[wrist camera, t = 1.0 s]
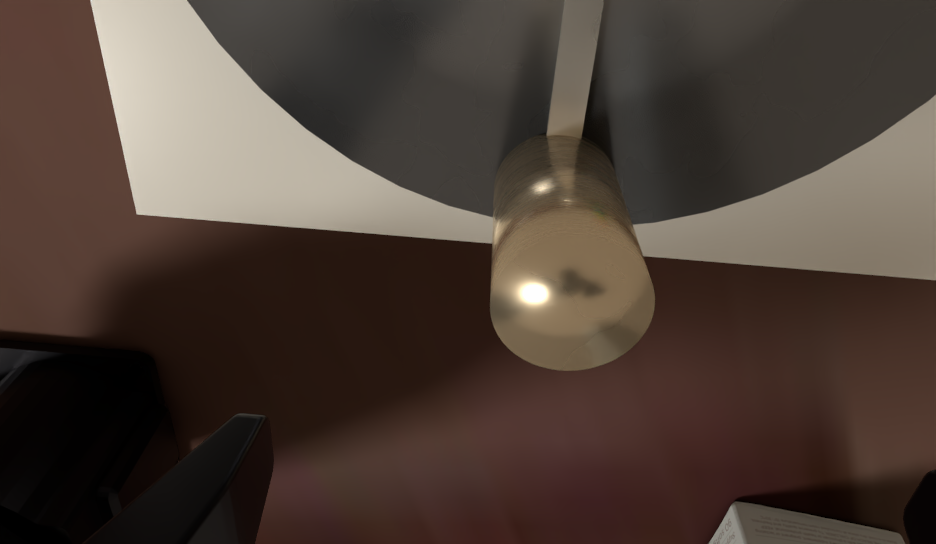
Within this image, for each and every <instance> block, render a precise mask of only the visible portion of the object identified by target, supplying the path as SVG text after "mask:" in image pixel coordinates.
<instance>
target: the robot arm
mask: <svg viewBox="0 0 936 544" xmlns="http://www.w3.org/2000/svg"><path fill="white" fill-rule="evenodd" d="M135 364H136V365H139V366H140V367H142V368H140V367H138V366H136V365H135ZM178 457H179V451H178V447H177V443H176V438H175V434H174V429H173V425H172V421H171V416H170V412H169V410H168V408H167V407H166V405H165V403H164V399H163V395H162V390H161V386H160V382H159V377H158V373H157V369H156V365H155V362H154V360H153V359H152V358H151V357H150V356H149V355H147V354H145V353H143V352H138V351H126V350H114V349H102V348H90V347H78V346H65V345H53V344H41V343H29V342H17V341H5V340H0V544H255V541H256V537H257V533H258V529H259V525H260V521H261V517H262V513H263V509H264V505H265V501H266V497H267V493H268V489H269V485H270V481H271V477H272V472H273V465H274V455H273V447H272V438H271V430H270V423H269V420H268V418H267V417H266V416H264V415H258V414H245V413H239V414H236V415H234V416H233V417H232V418H230V419H229V420H228V421H227V422H226V423H224V424H223V425H222V426H221V427H220V428H219V429H217V430H216V431H215V432H214V433H213V434H211V435H210V436H209V437H208V438H207V439H205V440H204V441H203V442H202V443H201V444H200V445H198V446H197V447H196V448H195V449H194V450H192V451H191V452H190V453H189V454H188V455H187V456H185V457H184V458H183V459H182V460H181V461H179V462H178V460H177V459H178ZM903 520H904V527H905V530H906V533H907V536H908V539H909V542H910V544H936V470H932V471H930V472H928V473H927V474H926V475H925V476H924V478H923V479H922V481H921V482H920V484H919V486H918V487H917V489H916V491H915V492H914V494H913V495H912V497H911V499H910V500H909V502H908V503H907V505H906V507H905V509H904V515H903Z"/></svg>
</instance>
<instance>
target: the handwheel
mask: <svg viewBox="0 0 936 544" xmlns="http://www.w3.org/2000/svg"><path fill="white" fill-rule="evenodd" d="M187 1H188V3H189V4H190V5H191V7H192V8H193V9H194V11H195V12H196V13H197V15H198V16H199V17H200V19H201V20H202V22H203V23H204V24H205V26H206V27H207V28H208V30H209V31H210V32H211V34H212V35H213V36H214V38H215V39H216V41H217V42H218V43H219V44H220V45H221V46H222V48H223V49H224V50H225V51H226V52H227V53H228V54H229V55H230V56H231V57H232V58H233V60H234V61H235V62H236V63H237V64H238V65H239V66H240V67H241V68H242V69H243V71H244V72H245V73H246V74H247V75H248V76H249V77H250V78H251V79H252V80H253V81H254V83H255V84H256V85H257V86H258V87H259V88H260V89H261V90H262V91H263V92H264V93H265V94H267V95H268V96H269V97H270V98H271V99H272V100H273V101H275V102H276V103H277V104H278V105H279V106H280V107H281V108H283V109H284V110H285V111H286V112H287V113H288V114H289V115H290V116H292V117H293V118H294V119H295V120H296V121H297V122H298V123H300V124H301V125H302V126H303V127H304V128H305V129H307V130H308V131H310V132H311V133H312V134H314V135H315V136H317V137H318V138H320V139H321V140H323V141H324V142H325V143H327V144H328V145H330V146H331V147H333V148H334V149H335V150H337V151H338V152H340V153H341V154H343V155H344V156H346V157H347V158H348V159H350V160H351V161H353V162H355V163H357V164H359V165H360V166H362V167H364V168H366V169H368V170H370V171H372V172H373V173H375V174H377V175H379V176H381V177H383V178H385V179H386V180H388V181H390V182H392V183H394V184H396V185H398V186H400V187H402V188H405V189H407V190H410V191H412V192H415V193H417V194H420V195H422V196H425V197H427V198H430V199H432V200H435V201H438V202H440V203H443V204H445V205H448V206H451V207H455V208H459V209H462V210H466V211H470V212H474V213H478V214H481V215H485V216H489V217H493V232H492V262H491V292H490V314H491V320H492V323H493V326H494V328H495V331H496V333H497V335H498V336H499V338H500V339H501V341H502V342H503V343H504V344H505V345H506V346H507V347H508V349H510V350H511V351H512V352H513V353H514V354H516V355H517V356H519V357H520V358H522V359H523V360H526V361H528V362H530V363H532V364H534V365H537V366H540V367H544V368H548V369H553V370H562V371H574V370H584V369H590V368H594V367H597V366H601V365H603V364H606V363H609V362H611V361H613V360H615V359H617V358H619V357H620V356H622V355H623V354H625V353H626V352H627V351H629V350H630V349H631V348H632V347H633V346H634V345H635V344H636V343H637V342H638V341H639V340H640V339H641V338H642V336H643V335H644V333H645V332H646V330H647V328H648V327H649V325H650V322H651V320H652V317H653V313H654V308H655V294H654V288H653V284H652V281H651V278H650V275H649V272H648V269H647V266H646V263H645V260H644V257H643V254H642V251H641V248H640V245H639V242H638V239H637V236H636V233H635V230H634V227H633V225H635V224H646V223H656V222H661V221H665V220H670V219H675V218H680V217H685V216H690V215H695V214H700V213H705V212H709V211H712V210H715V209H719V208H722V207H725V206H728V205H731V204H734V203H737V202H741V201H744V200H747V199H750V198H753V197H756V196H760V195H763V194H765V193H767V192H769V191H772V190H774V189H776V188H779V187H781V186H783V185H786V184H788V183H790V182H792V181H795V180H797V179H799V178H802V177H804V176H806V175H808V174H811V173H813V172H815V171H818V170H819V169H821V168H823V167H825V166H826V165H828V164H830V163H832V162H834V161H835V160H837V159H839V158H841V157H843V156H844V155H846V154H848V153H850V152H852V151H853V150H855V149H857V148H859V147H860V146H862V145H864V144H866V143H868V142H869V141H871V140H873V139H874V138H876V137H877V136H879V135H880V134H882V133H883V132H884V131H886V130H887V129H889V128H890V127H892V126H893V125H895V124H896V123H897V122H899V121H900V120H902V119H903V118H905V117H906V116H907V115H909V114H910V113H912V112H913V111H915V110H916V109H918V108H919V107H920V106H922V105H923V104H925V103H926V102H928V101H929V100H930V99H931V98H933V97H934V96H935V95H936V0H187Z"/></svg>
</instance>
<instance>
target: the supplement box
mask: <svg viewBox="0 0 936 544" xmlns="http://www.w3.org/2000/svg"><path fill="white" fill-rule="evenodd" d="M709 544H905V542H904V540H903V538H902V536H901V535H900V534H899V533H896V532H892V531H887V530H883V529H877V528H873V527H868V526H863V525H858V524H853V523H847V522H843V521H838V520H834V519H828V518H823V517H818V516H814V515H809V514H804V513H798V512H793V511H788V510H783V509H778V508H772V507H767V506H763V505H758V504H752V503H745V502H734V503H733V504H732V505H731V507H730V508H729V510H728V512H727V514H726V516H725V517H724V519H723V521H722V523H721V524H720V526H719V528H718V529H717V531H716V533H715V534H714V536H713V537H712V539H711V541H710V542H709Z"/></svg>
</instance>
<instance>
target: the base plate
mask: <svg viewBox="0 0 936 544" xmlns="http://www.w3.org/2000/svg"><path fill="white" fill-rule="evenodd" d="M90 1H91V5H92V10H93V14H94V19H95V24H96V28H97V33H98V37H99V42H100V47H101V51H102V56H103V60H104V65H105V70H106V74H107V79H108V83H109V88H110V93H111V97H112V102H113V107H114V111H115V116H116V120H117V125H118V130H119V134H120V139H121V143H122V148H123V153H124V157H125V162H126V166H127V171H128V176H129V180H130V185H131V189H132V194H133V199H134V203H135V208H136V213H137V214H140V215H152V216H164V217H176V218H188V219H200V220H212V221H225V222H237V223H249V224H261V225H273V226H285V227H297V228H309V229H321V230H334V231H346V232H358V233H370V234H382V235H394V236H406V237H418V238H430V239H443V240H455V241H467V242H479V243H491V244H492V232H493V217H489V216H485V215H481V214H478V213H474V212H470V211H466V210H462V209H459V208H455V207H451V206H448V205H445V204H443V203H440V202H438V201H435V200H432V199H430V198H427V197H425V196H422V195H420V194H417V193H415V192H412V191H410V190H407V189H405V188H402V187H400V186H398V185H396V184H394V183H392V182H390V181H388V180H386V179H385V178H383V177H381V176H379V175H377V174H375V173H373V172H372V171H370V170H368V169H366V168H364V167H362V166H360V165H359V164H357V163H355V162H353V161H351V160H350V159H348V158H347V157H346V156H344V155H343V154H341V153H340V152H338V151H337V150H335V149H334V148H333V147H331V146H330V145H328V144H327V143H325V142H324V141H323V140H321V139H320V138H318V137H317V136H315V135H314V134H312V133H311V132H310V131H308V130H307V129H305V128H304V127H303V126H302V125H301V124H300V123H298V122H297V121H296V120H295V119H294V118H293V117H292V116H290V115H289V114H288V113H287V112H286V111H285V110H284V109H283V108H281V107H280V106H279V105H278V104H277V103H276V102H275V101H273V100H272V99H271V98H270V97H269V96H268V95H267V94H265V93H264V92H263V91H262V90H261V89H260V88H259V87H258V86H257V85H256V84H255V83H254V81H253V80H252V79H251V78H250V77H249V76H248V75H247V74H246V73H245V72H244V71H243V69H242V68H241V67H240V66H239V65H238V64H237V63H236V62H235V61H234V60H233V58H232V57H231V56H230V55H229V54H228V53H227V52H226V51H225V50H224V49H223V48H222V46H221V45H220V44H219V43H218V42H217V41H216V39H215V38H214V36H213V35H212V34H211V32H210V31H209V30H208V28H207V27H206V26H205V24H204V23H203V22H202V20H201V19H200V17H199V16H198V15H197V13H196V12H195V11H194V9H193V8H192V7H191V5H190V4H189V3H188V1H187V0H90ZM633 227H634V230H635V233H636V236H637V239H638V242H639V245H640V248H641V251H642V254H643V256H648V257H661V258H673V259H685V260H697V261H709V262H721V263H733V264H745V265H757V266H770V267H782V268H794V269H806V270H818V271H830V272H842V273H854V274H866V275H878V276H891V277H903V278H915V279H927V280H936V95H935V96H934V97H933V98H931V99H930V100H929V101H928V102H926V103H925V104H923V105H922V106H920V107H919V108H918V109H916V110H915V111H913V112H912V113H910V114H909V115H907V116H906V117H905V118H903V119H902V120H900V121H899V122H897V123H896V124H895V125H893V126H892V127H890V128H889V129H887V130H886V131H884V132H883V133H882V134H880V135H879V136H877V137H876V138H874V139H873V140H871V141H869V142H868V143H866V144H864V145H862V146H860V147H859V148H857V149H855V150H853V151H852V152H850V153H848V154H846V155H844V156H843V157H841V158H839V159H837V160H835V161H834V162H832V163H830V164H828V165H826V166H825V167H823V168H821V169H819V170H818V171H815V172H813V173H811V174H808V175H806V176H804V177H802V178H799V179H797V180H795V181H792V182H790V183H788V184H786V185H783V186H781V187H779V188H776V189H774V190H772V191H769V192H767V193H765V194H763V195H760V196H756V197H753V198H750V199H747V200H744V201H741V202H737V203H734V204H731V205H728V206H725V207H722V208H719V209H715V210H712V211H709V212H705V213H700V214H695V215H690V216H685V217H680V218H675V219H670V220H665V221H661V222H656V223H646V224H635V225H633Z"/></svg>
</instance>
